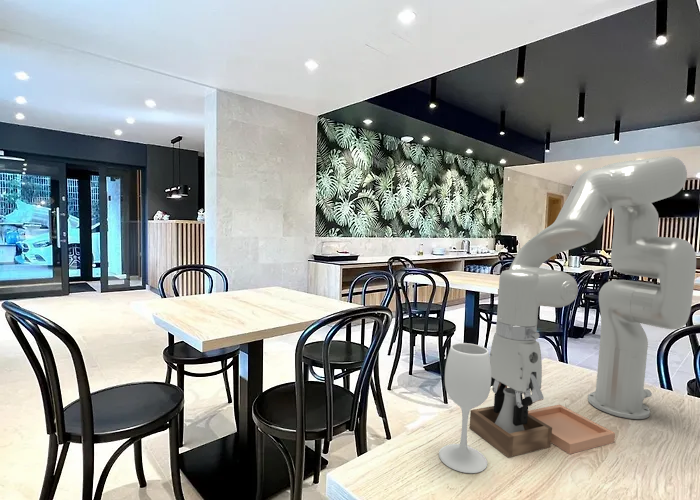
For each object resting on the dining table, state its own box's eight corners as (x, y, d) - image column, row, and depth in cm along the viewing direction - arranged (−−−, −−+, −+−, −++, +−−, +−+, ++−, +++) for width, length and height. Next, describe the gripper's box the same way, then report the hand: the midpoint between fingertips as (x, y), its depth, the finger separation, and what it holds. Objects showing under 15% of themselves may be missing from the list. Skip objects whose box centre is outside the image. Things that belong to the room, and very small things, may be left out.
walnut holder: (508, 420, 87) (510, 402, 86) (550, 447, 76) (552, 427, 76) (469, 428, 82) (470, 410, 82) (507, 457, 72) (509, 437, 72)
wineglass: (429, 450, 74) (435, 343, 72) (466, 442, 77) (472, 339, 76) (458, 478, 66) (465, 358, 64) (497, 468, 69) (505, 354, 68)
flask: (531, 450, 75) (535, 400, 74) (492, 444, 77) (496, 396, 76) (522, 431, 82) (526, 385, 82) (487, 426, 84) (490, 381, 83)
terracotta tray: (559, 412, 91) (559, 404, 91) (614, 442, 79) (615, 432, 79) (517, 421, 86) (518, 412, 86) (569, 454, 74) (570, 444, 74)
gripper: (566, 342, 71) (558, 436, 73) (499, 319, 87) (494, 397, 88) (536, 345, 69) (529, 443, 70) (473, 321, 84) (468, 402, 86)
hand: (509, 416), depth 79 cm, fingers open, 4 cm apart
